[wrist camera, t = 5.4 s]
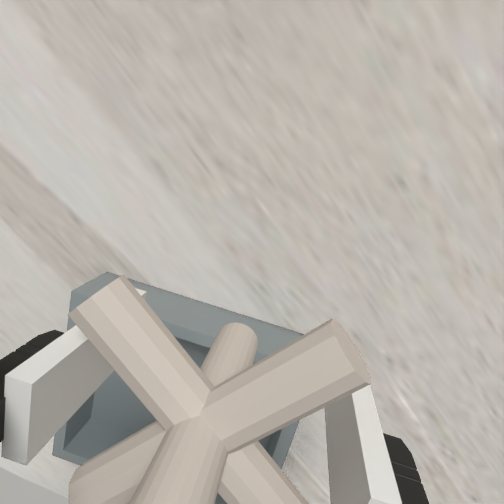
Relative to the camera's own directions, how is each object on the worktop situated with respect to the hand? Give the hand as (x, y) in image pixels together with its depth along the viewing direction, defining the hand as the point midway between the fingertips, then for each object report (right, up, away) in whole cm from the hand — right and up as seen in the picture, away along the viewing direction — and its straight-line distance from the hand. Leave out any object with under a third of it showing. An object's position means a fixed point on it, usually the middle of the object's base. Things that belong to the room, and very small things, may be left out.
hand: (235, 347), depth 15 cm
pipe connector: (0, 0, 0) cm, 1 cm away
